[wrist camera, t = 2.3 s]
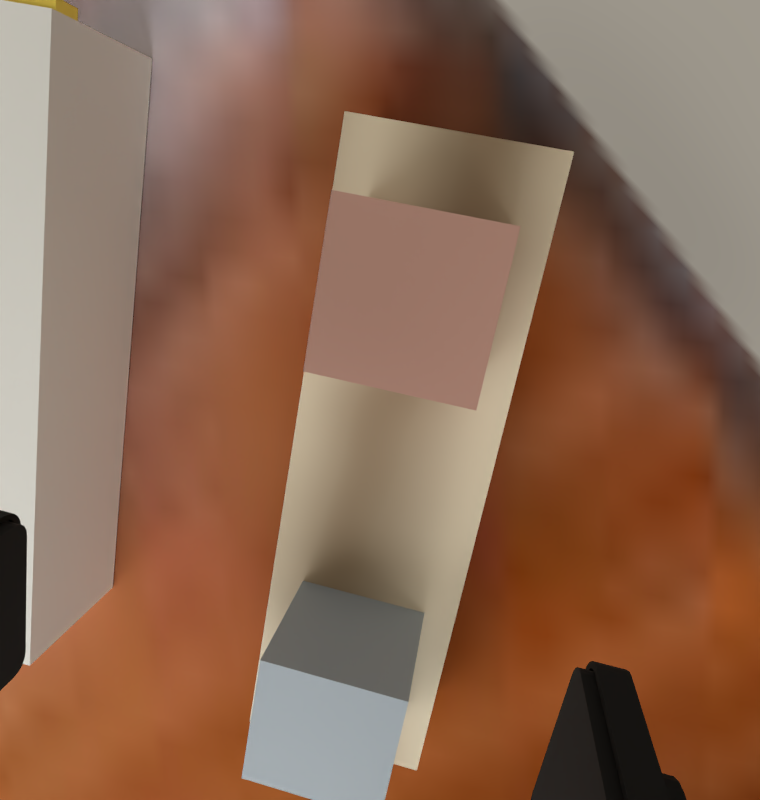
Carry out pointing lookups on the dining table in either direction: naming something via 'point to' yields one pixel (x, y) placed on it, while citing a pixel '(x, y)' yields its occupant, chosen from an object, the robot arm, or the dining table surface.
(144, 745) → the dining table surface
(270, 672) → the block
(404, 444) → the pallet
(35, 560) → the dock
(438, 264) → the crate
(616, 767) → the robot arm
